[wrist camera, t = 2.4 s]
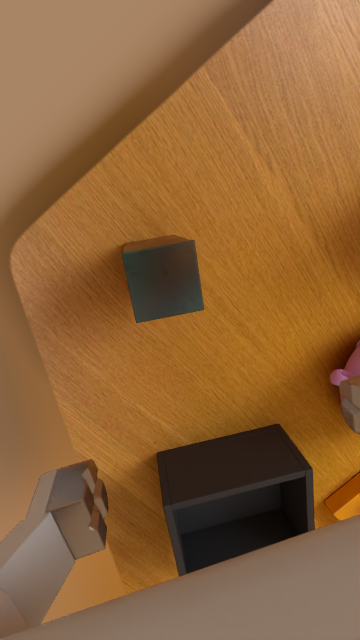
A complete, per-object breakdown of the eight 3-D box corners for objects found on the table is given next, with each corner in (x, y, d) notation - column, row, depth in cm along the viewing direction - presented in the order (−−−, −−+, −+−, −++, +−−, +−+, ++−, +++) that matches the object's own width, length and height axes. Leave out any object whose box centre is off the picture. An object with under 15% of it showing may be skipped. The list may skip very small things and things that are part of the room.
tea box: (133, 293, 33) (136, 323, 23) (123, 243, 31) (121, 253, 22) (182, 284, 33) (204, 310, 24) (174, 234, 32) (194, 240, 22)
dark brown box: (174, 534, 43) (184, 599, 36) (156, 452, 39) (163, 506, 32) (285, 505, 45) (315, 561, 37) (279, 423, 40) (312, 468, 33)
